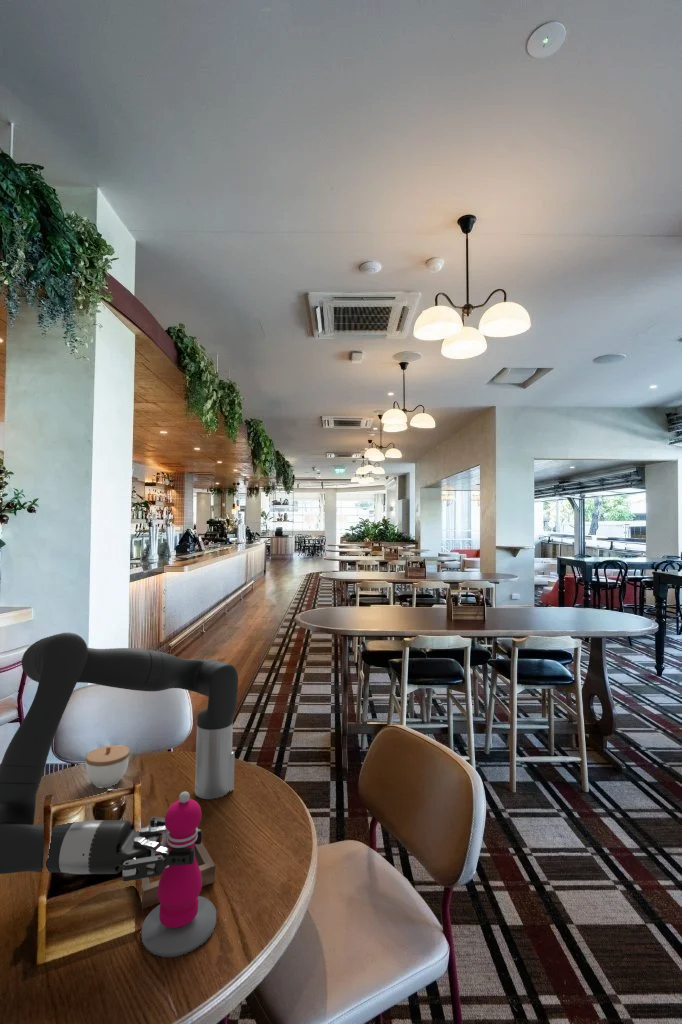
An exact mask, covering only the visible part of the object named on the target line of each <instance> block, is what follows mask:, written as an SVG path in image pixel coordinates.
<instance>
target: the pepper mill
mask: <svg viewBox="0 0 682 1024" xmlns="http://www.w3.org/2000/svg"><path fill="white" fill-rule="evenodd" d="M190 795H191V794H190V793H189V792H188V791H182V792H181V793H179V796H178V800H176V801H174V802H173V803H172V804H171V805H170V806H169V807H168V809H167V810H166V813H165V817H164V818H165V826H166V829H167V830H168V833H167V843H168V845H169V848H170V849H171V850H172V848H194V844H195V841H196V840H197V837H198V835H197V833H198V829H199V828H198V826H199V825H200V823H201V821H202V816H203V815H202V808H201V806H200V804H199V803H198V801H197V800H196V799H195V800H194V799H192V798H191V796H190ZM159 880H160V881H159V885H158V892H157V895H158V899H159V901H160V903H159V905H160V914H159V919H160V922H161V923H162V924H163V925H164V926H166V927H169V928H177V927H182V926H184V925H186V924H188V923H190V922H191V921H192V920H193V919H194V918H195V916H196V915H197V913H198V896H200V894H201V892H202V875H201V871H200V868H199V866H198V863H197V861H196V858H195V859H194V862H193V863H192V864H187V865H170V866H169V867H168V868H164V869H163V872H162V874H161V875H160V879H159Z"/></svg>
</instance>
